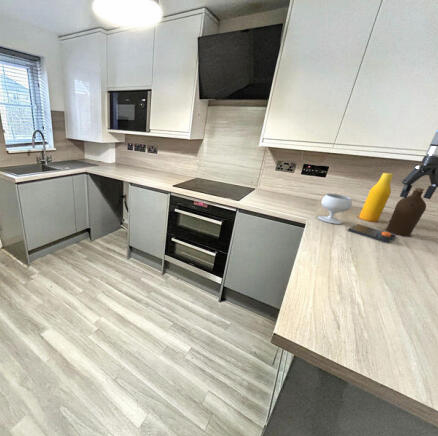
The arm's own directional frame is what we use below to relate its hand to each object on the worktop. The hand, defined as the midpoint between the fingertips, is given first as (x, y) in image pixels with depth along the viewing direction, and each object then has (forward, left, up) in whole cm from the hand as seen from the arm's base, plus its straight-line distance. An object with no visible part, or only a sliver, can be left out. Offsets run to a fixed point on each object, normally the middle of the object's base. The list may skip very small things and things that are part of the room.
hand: (414, 197), depth 122 cm
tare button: (+1, +22, -17) cm, 28 cm away
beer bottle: (+16, -12, -20) cm, 28 cm away
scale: (+7, +18, -20) cm, 28 cm away
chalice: (+27, +16, -20) cm, 37 cm away
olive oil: (0, 0, -20) cm, 20 cm away
